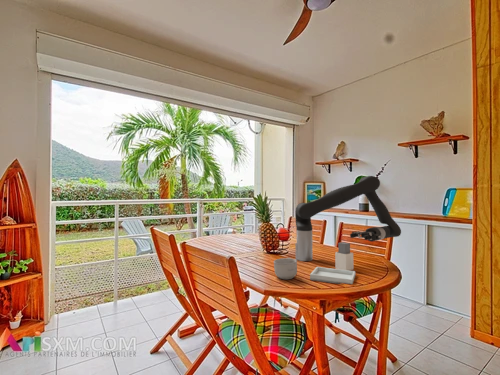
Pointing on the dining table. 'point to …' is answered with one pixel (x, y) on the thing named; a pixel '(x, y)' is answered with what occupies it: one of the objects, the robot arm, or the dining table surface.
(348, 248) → the block
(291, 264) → the teacup
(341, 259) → the beige rectangular block
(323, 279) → the tray
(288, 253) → the dining table surface
